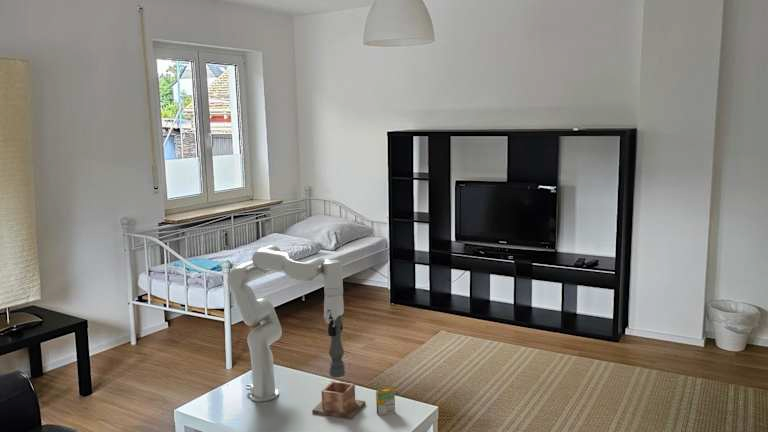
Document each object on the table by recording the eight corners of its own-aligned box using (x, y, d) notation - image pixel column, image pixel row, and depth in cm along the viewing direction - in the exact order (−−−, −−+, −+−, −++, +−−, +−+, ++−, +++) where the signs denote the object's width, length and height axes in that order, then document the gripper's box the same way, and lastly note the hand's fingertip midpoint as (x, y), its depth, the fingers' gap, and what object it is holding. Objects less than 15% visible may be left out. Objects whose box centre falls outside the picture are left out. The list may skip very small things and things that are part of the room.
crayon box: (393, 410, 263) (392, 383, 261) (395, 413, 260) (394, 386, 258) (376, 412, 261) (375, 386, 259) (378, 416, 258) (377, 389, 256)
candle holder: (342, 377, 259) (340, 319, 255) (328, 376, 260) (325, 318, 256) (346, 371, 265) (344, 314, 261) (332, 370, 266) (329, 313, 262)
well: (312, 413, 262) (311, 391, 260) (327, 398, 275) (326, 378, 273) (352, 419, 255) (351, 397, 254) (365, 404, 268) (364, 383, 267)
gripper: (334, 284, 266) (336, 325, 269) (315, 295, 250) (317, 339, 253) (350, 285, 263) (352, 327, 266) (333, 297, 247) (335, 341, 250)
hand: (335, 332), depth 260 cm, fingers closed on candle holder, 5 cm apart
